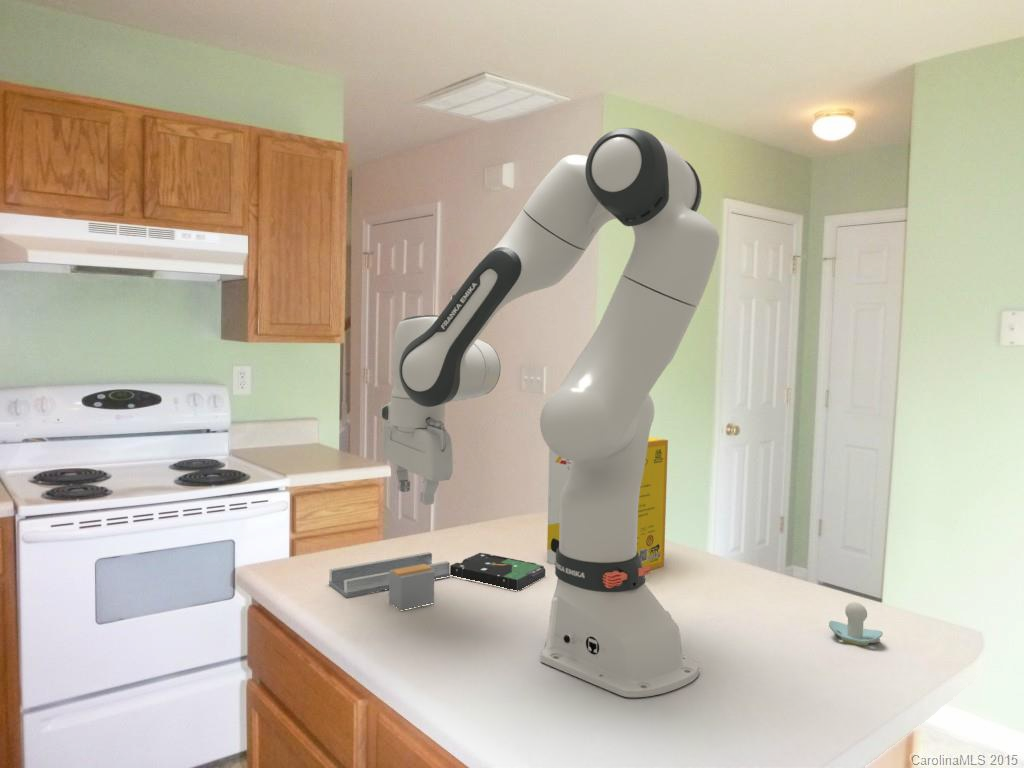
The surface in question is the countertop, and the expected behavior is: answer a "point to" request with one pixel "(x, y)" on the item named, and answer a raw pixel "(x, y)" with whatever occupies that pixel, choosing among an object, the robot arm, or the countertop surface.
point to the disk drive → (498, 571)
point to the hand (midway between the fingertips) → (414, 497)
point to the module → (411, 586)
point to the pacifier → (855, 626)
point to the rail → (379, 574)
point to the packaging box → (648, 506)
